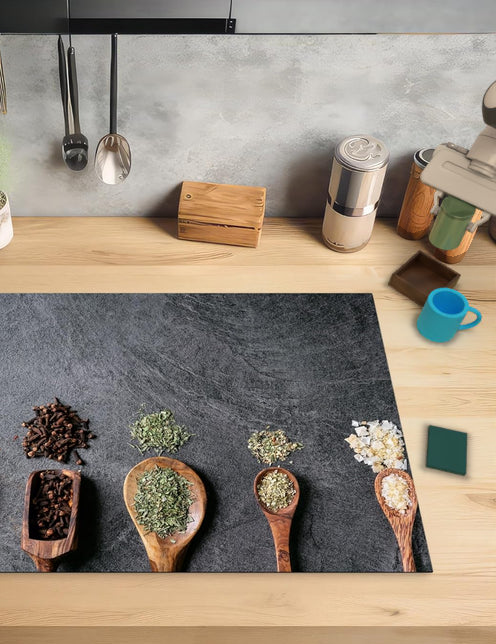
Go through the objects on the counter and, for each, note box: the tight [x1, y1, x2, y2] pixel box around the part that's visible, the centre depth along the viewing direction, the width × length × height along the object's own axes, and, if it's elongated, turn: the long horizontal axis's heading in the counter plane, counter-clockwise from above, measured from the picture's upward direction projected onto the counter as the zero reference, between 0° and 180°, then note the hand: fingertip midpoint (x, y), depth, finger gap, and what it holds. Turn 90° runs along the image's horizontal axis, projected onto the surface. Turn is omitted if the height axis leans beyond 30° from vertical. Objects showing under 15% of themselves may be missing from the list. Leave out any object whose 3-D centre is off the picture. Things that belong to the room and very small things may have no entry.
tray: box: [387, 249, 462, 308], centre depth 163 cm, size 11×11×4 cm
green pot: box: [428, 195, 477, 251], centre depth 148 cm, size 6×6×9 cm
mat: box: [425, 424, 468, 477], centre depth 139 cm, size 9×7×1 cm
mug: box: [416, 288, 483, 343], centre depth 154 cm, size 12×8×8 cm
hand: (451, 223), depth 147 cm, fingers closed on green pot, 6 cm apart
